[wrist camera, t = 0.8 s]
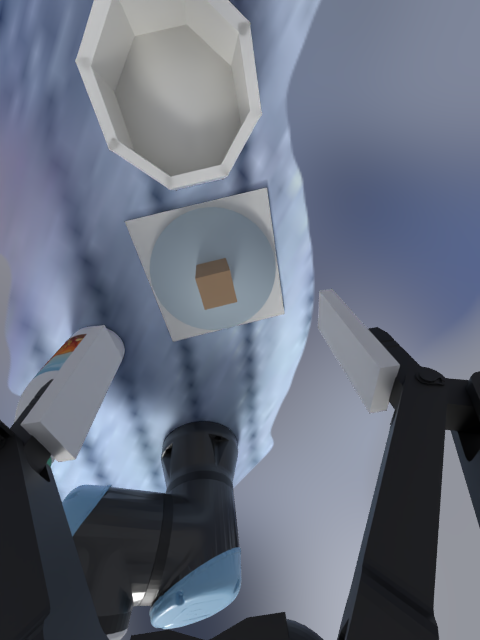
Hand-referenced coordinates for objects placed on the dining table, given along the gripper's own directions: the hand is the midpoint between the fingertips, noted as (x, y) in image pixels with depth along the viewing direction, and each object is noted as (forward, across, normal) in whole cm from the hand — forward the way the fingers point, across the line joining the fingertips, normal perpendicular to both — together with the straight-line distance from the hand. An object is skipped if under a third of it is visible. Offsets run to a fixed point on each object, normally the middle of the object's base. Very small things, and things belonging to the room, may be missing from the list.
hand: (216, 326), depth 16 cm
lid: (+20, +1, +5) cm, 21 cm away
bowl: (+22, +1, -13) cm, 26 cm away
